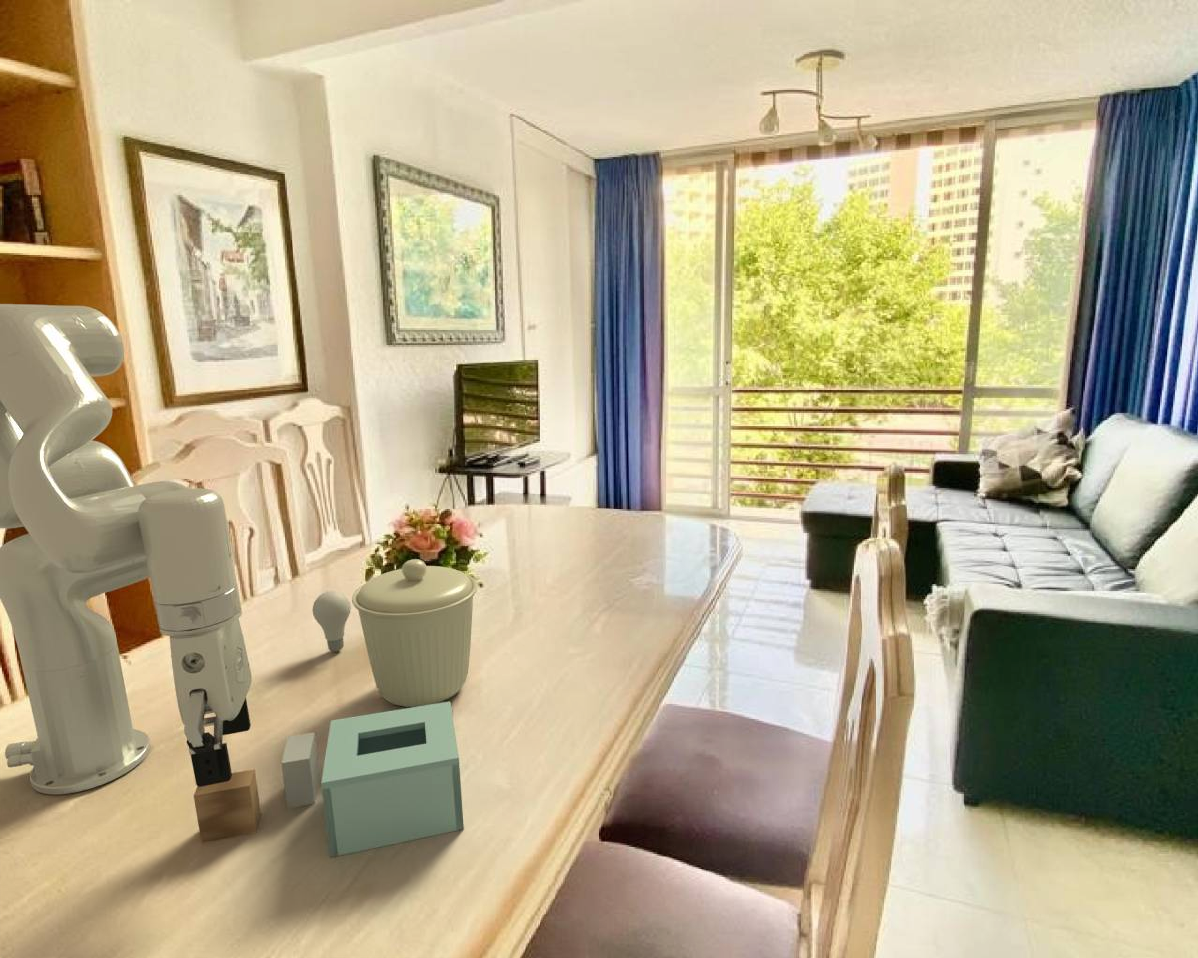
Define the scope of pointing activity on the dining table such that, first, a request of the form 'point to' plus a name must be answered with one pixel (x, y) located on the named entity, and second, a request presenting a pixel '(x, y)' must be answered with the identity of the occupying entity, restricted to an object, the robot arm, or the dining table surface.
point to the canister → (417, 631)
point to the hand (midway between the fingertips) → (225, 755)
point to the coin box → (391, 778)
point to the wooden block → (228, 807)
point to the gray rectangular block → (300, 770)
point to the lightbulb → (332, 617)
